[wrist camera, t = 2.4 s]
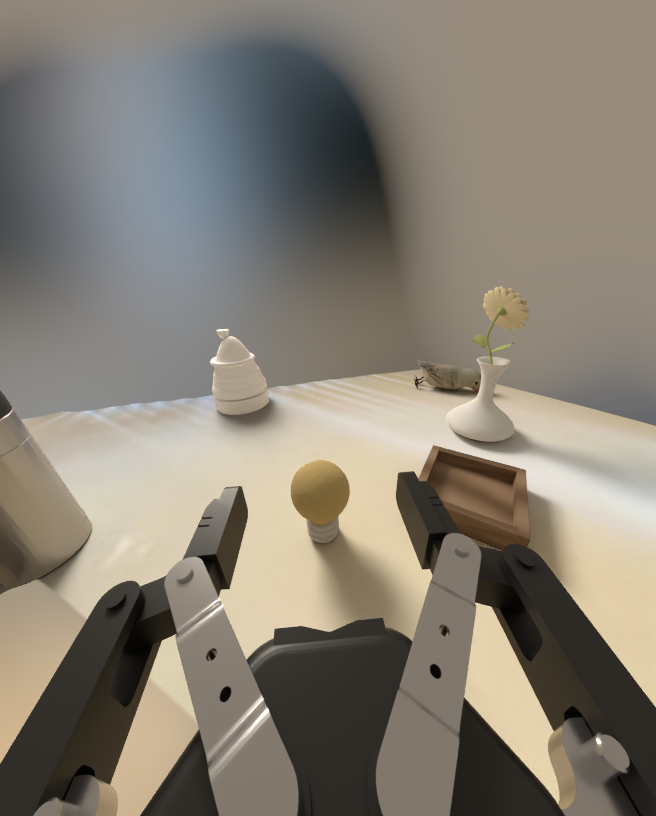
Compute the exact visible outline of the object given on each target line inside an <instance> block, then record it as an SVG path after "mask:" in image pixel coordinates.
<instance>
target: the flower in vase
mask: <svg viewBox="0 0 656 816" xmlns="http://www.w3.org/2000/svg"><path fill="white" fill-rule="evenodd" d="M526 304H527V301H526V300H524V299H521V295H520V294H518V293H517V294H514V290H513V289H512V288H509V289H508V290H507V291H506V290H505V289H504V287H502V286H500V287H499V288H497V287H496V288H495V289H494V291H493V290H491V291H488V294H485V299H484V304H483V307H484V309H486V314H487V315H489V319H490V320H492V321H493V322H492V324H491V326H490V328H489V330H488V332H487V336H486V339H485V338H484V337H482V336H481V335H479V334H478V335H477V336H476V337H475V338H474V339H473V342H475V343H477V344H479V345H480V346H482V347H483V348H485V347H486V345H487V348H488V352H489V357H480V358H478V359H477V361H478V363H479V365H480V367H481V384H480V389H479V392H478V395H477V397H476V398H475V399H474V400H472V401H470V402H467V403H465V404H462V405H460V406H457V407H455V408H454V409H452V410H450V411H449V413H448V414H447V415H446V422H447V424H448V426H449V427H450V428H451V429H452V430H453V431H455V432H456V433H458V434H460V435H462V436H464V437H467V438H470V439H474V440H479V441H486V442H496V441H502V440H505V439H507V438H509V437H510V436H512V435H513V434H514V425H513V423H512V421H511V420H510V419H509V417H508V416H507V415H506V414H505V413H504V412H503V411H501V410H500V409H499V408H498V407H497V406H496V405H495V404H494V402H493V393H494V389H495V386H496V383H497V381H498V378H499V377H500V375H501V373H502V372H503V371H504V369H505V368H507V367H508V366H509V365H511V363H512V362H511V361H510V360H508V359H504V358H500V357H492V354H491V352H495V351H499V350H502V349H505V348H507V347H509V346H510V345H512V344H514V342H513V343H512V344H510V345H505V346H501V347H498V348H496V349H494V350H493V351H490V347H489V342H488V336H489V333H490V331H491V329H492V327H493V325H494V323H495V324H496V325H498V324H500V326H501V327H502V328H506V329H508V330H512V328H513V329H518V327H520V328H521V327H524V326H525V325H524V323H523V322H526V320H527V318H528V312H529V309H528V308H526V307H525V305H526Z"/></svg>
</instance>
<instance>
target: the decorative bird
mask: <svg viewBox="0 0 656 816" xmlns="http://www.w3.org/2000/svg"><path fill="white" fill-rule="evenodd" d="M417 361H418V362H417V363H418V365H419V366H422V367H421V370H422V373H423V377H422V378H425V379H423V380H422V381H421V382H419V383H418V380H421V379H422V378H421V379H417V377H416V376H415V377H416V380H415V379H414V380H415V385H416V387H417V388H418V386H417V385H418V384H420V383H422V382H423V381H427V382H428V384H430V385H433V386H436V387H440V388H444V389H460V388H463V387H469V388H472V389H473V390H475V391H476V392H479V389H480V384H481V375H480V373H479V372H478V371H476V370H473V369H469V368H460V367H456V366H451V365H442V364H435V363H431V362H427V361H426V362H425V361H420V360H417ZM420 364H421V365H420ZM416 382H417V383H416Z"/></svg>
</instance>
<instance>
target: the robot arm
mask: <svg viewBox="0 0 656 816" xmlns="http://www.w3.org/2000/svg"><path fill="white" fill-rule="evenodd" d="M396 500H397V505H398V508H399V511H400V513H401V516H402V518H403V521H404V524H405V526H406V529H407V531H408V534H409V537H410V539H411V542H412V544H413V547H414V550H415V552H416V555H417V557H418V560H419V562H420V565H421V568H422V569H430V570H431V572H432V575H433V577H432V580H431V582H430V585H429V588H428V591H427V595H426V598H425V602H424V605H423V608H422V612H421V615H420V619H419V622H418V625H417V629H416V632H415V636H414V639H413V641H411V640H410V639H409V638H408V637H406V636H405V635H403V634H402V633H400V632H398V631H396V630H393V629H391V628H387V627H385V625H384V621H383V618H377V619H367V620H357V621H355V622H352V623H350V624H348V625H345V626H343V627H341V628H339V629H336V630H334V631H332V632H326V631H321V630H317V629H312V628H308V627H303V626H298V627H288V628H278V629H275V632H274V639H271V640H269V641H268V642H266V643H264V644H263V645H262V646H260V647H259V648H258V649H256V650H255V651H254V652H253V653H252V654H251V655H250V656H249V658H248V659H247V660H246V658H245V656H244V654H243V651H242V649H241V647H240V645H239V642H238V640H237V638H236V635H235V633H234V631H233V629H232V626H231V624H230V622H229V620H228V617H227V615H226V613H225V610H224V608H223V606H222V604H221V601H220V599H219V594H220V591H221V590H222V589H230V585H231V581H232V577H233V573H234V569H235V565H236V562H237V558H238V554H239V550H240V546H241V542H242V538H243V534H244V531H245V527H246V523H247V518H248V509H247V504H246V501H245V497H244V493H243V490H242V487H241V486H237V487H226V488H224V490H223V492H222V495H221V497H220V499H214V500H213V501H212V502H211V503H210V504H209V505H208V506H207V507H206V509H205V511H204V513H203V516H202V519H201V520H200V522H199V524H198V528H197V529H196V531H195V533H194V536H193V538H192V540H191V542H190V544H189V547H188V549H187V551H186V553H185V555H184V558H183V560H181V561H180V562H178V563H177V564H176V565H174V566H173V567H172V569H171V570H170V571H169V572H168V574H167V575H166V576H165V577H163V578H160V579H158V580H156V581H153V582H151V583H148V584H145V585H143V586H139V584H138V583H137V582H135V581H126V582H123V583H120V584H118V585H116V586H114V587H113V588H111V589H110V590H109V591H108V592H106V593H105V594H104V595H103V596H102V597H101V599H100V600H99V601H98V603H97V604H96V606H95V607H94V609H93V611H92V612H91V614H90V616H89V617H88V619H87V621H86V622H85V624H84V626H83V628H82V629H81V631H80V632H79V634H78V636H77V637H76V639H75V641H74V642H73V644H72V646H71V647H70V649H69V651H68V652H67V654H66V656H65V657H64V659H63V661H62V662H61V664H60V666H59V667H58V669H57V671H56V672H55V674H54V676H53V677H52V679H51V681H50V682H49V684H48V686H47V687H46V689H45V691H44V692H43V694H42V696H41V697H40V699H39V701H38V702H37V704H36V706H35V707H34V709H33V711H32V712H31V714H30V716H29V717H28V719H27V721H26V722H25V724H24V726H23V727H22V729H21V731H20V732H19V734H18V736H17V737H16V739H15V741H14V742H13V744H12V745H11V747H10V749H9V751H8V752H7V754H6V756H5V757H4V759H3V761H2V762H1V764H0V816H116V815H117V807H118V799H117V794H116V791H115V789H114V788H113V787H112V786H111V785H110V783H111V780H112V777H113V775H114V772H115V769H116V766H117V763H118V761H119V758H120V755H121V752H122V750H123V747H124V744H125V741H126V739H127V736H128V733H129V730H130V727H131V725H132V722H133V719H134V716H135V714H136V711H137V708H138V705H139V703H140V700H141V697H142V694H143V691H144V689H145V686H146V683H147V680H148V678H149V675H150V672H151V669H152V666H153V664H154V661H155V658H156V655H157V653H158V650H159V647H160V644H161V641H162V640H164V639H166V638H168V637H171V636H173V635H175V634H177V635H176V643H177V647H178V650H179V654H180V658H181V662H182V666H183V669H184V673H185V677H186V681H187V685H188V688H189V692H190V696H191V700H192V704H193V707H194V711H195V715H196V719H197V723H198V726H199V730H198V731H197V733H196V735H195V736H194V737H193V739H192V740H191V742H190V743H189V744H188V746H187V747H186V749H185V750H184V752H183V754H182V755H181V756H180V758H179V759H178V761H177V762H176V764H175V765H174V767H173V768H172V770H171V771H170V772H169V774H168V776H167V777H166V778H165V780H164V781H163V783H162V784H161V786H160V787H159V789H158V790H157V792H156V793H155V795H154V796H153V798H152V799H151V800H150V802H149V803H148V805H147V806H146V808H145V809H144V811H143V812H142V814H141V815H140V816H656V707H655V706H654V705H653V703H652V702H651V701H650V699H649V698H648V697H647V696H646V694H645V693H644V692H643V690H642V689H641V688H640V686H639V685H638V684H637V682H636V681H635V680H634V678H633V677H632V676H631V674H630V673H629V672H628V671H627V669H626V668H625V667H624V665H623V664H622V663H621V661H620V660H619V659H618V657H617V656H616V655H615V653H614V652H613V651H612V650H611V648H610V647H609V646H608V644H607V643H606V642H605V640H604V639H603V638H602V636H601V635H600V634H599V632H598V631H597V630H596V629H595V627H594V626H593V625H592V623H591V622H590V621H589V619H588V618H587V617H586V615H585V614H584V613H583V611H582V610H581V609H580V608H579V606H578V605H577V604H576V602H575V601H574V600H573V598H572V597H571V596H570V594H569V593H568V592H567V590H566V589H565V588H564V587H563V585H562V584H561V583H560V581H559V580H558V579H557V577H556V576H555V575H554V573H553V572H552V571H551V569H550V568H549V567H548V566H547V564H546V563H545V562H544V560H543V559H542V558H541V557H540V556H539V555H538V554H537V553H535V552H534V551H533V550H531V549H529V548H527V547H525V546H522V545H518V544H510V545H508V546H506V547H505V548H504V551H503V552H502V551H497V550H493V549H488V548H483V547H480V546H478V545H477V544H476V543H475V542H474V541H473V540H472V539H470V538H469V537H467V536H465V535H463V534H461V533H460V531H459V529H458V528H457V526H456V524H455V523H454V521H453V519H452V518H451V516H450V514H449V513H448V511H447V509H446V507H445V506H444V505H443V502H442V501H441V499H440V498H439V496H438V494H437V492H436V491H435V489H434V488H433V487H432V486H431V485H430V484H429V483H427V482H426V481H419V479H418V478H417V476H416V474H415V472H413V471H412V472H400V473H398V480H397V490H396ZM91 529H92V524H91V522H90V520H89V519H88V517H87V516H86V514H85V512H84V511H83V509H82V508H81V507H80V506H79V504H78V503H77V501H76V500H75V498H74V497H73V495H72V494H71V492H70V491H69V489H68V488H67V487H66V485H65V484H64V482H63V481H62V479H61V478H60V476H59V475H58V473H57V472H56V470H55V469H54V467H53V466H52V465H51V463H50V462H49V460H48V459H47V457H46V456H45V454H44V453H43V451H42V450H41V448H40V447H39V446H38V444H37V443H36V441H35V440H34V438H33V437H32V435H31V434H30V433H29V431H28V429H27V428H26V426H25V425H24V424H23V422H22V421H21V419H20V418H19V417H18V415H17V413H16V412H15V410H14V409H13V408H12V406H11V405H10V403H9V402H8V400H7V399H6V397H5V396H4V395H3V393H2V392H1V391H0V594H1V593H3V592H5V591H7V590H9V589H11V588H15V587H18V586H21V585H24V584H27V583H29V582H31V581H33V580H36V579H38V578H40V577H42V576H43V575H45V574H47V573H49V572H50V571H52V570H53V569H55V568H57V567H58V566H60V565H61V564H62V563H64V562H65V561H66V560H67V559H69V558H70V557H71V556H72V555H73V554H74V553H75V552H76V551H78V550H79V549H80V547H81V546H82V545H83V544H84V543H85V541H86V540H87V538H88V537H89V535H90V532H91ZM475 602H476V603H480V604H483V605H487V606H491V607H492V608H493V610H494V612H495V614H496V616H497V618H498V620H499V622H500V624H501V626H502V628H503V630H504V632H505V634H506V636H507V638H508V640H509V642H510V644H511V646H512V648H513V650H514V652H515V654H516V656H517V658H518V660H519V662H520V664H521V666H522V668H523V670H524V672H525V674H526V676H527V678H528V680H529V682H530V684H531V686H532V688H533V690H534V692H535V694H536V696H537V698H538V700H539V702H540V704H541V706H542V708H543V710H544V712H545V714H546V716H547V718H548V720H549V722H550V725H551V727H552V729H553V731H554V732H553V733H552V734H551V736H550V738H549V742H548V752H549V757H550V761H551V764H552V766H553V769H554V772H555V775H556V778H557V781H558V786H559V795H560V800H559V805H558V804H557V802H556V801H555V799H554V798H553V797H552V795H551V794H550V793H549V791H548V790H547V789H546V788H545V786H544V785H543V784H542V783H541V782H540V780H539V779H538V778H537V777H536V776H535V775H534V774H533V773H532V772H531V771H530V769H529V768H528V767H527V766H526V765H525V764H524V763H523V762H522V761H521V760H520V758H519V757H518V756H517V755H516V754H515V753H514V752H513V751H512V750H511V748H510V747H509V746H508V745H507V744H506V743H505V742H504V741H503V740H502V739H501V737H500V736H499V735H498V734H497V733H496V732H495V731H494V730H493V729H492V728H491V726H490V725H489V724H488V723H487V722H486V721H485V720H484V719H483V718H482V717H481V715H480V714H479V713H478V712H477V711H476V710H475V709H474V708H473V707H472V706H471V704H470V703H469V702H468V701H467V700H466V699H465V698H464V693H465V686H466V678H467V671H468V664H469V657H470V649H471V642H472V635H473V628H474V620H475V613H476V605H475Z"/></svg>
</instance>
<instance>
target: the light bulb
mask: <svg viewBox="0 0 656 816" xmlns="http://www.w3.org/2000/svg"><path fill="white" fill-rule="evenodd" d="M349 493H350V491H349V483H348V480H347V478H346V476H345V474H344V473H343V471H342V470H341V469H340V468H339V467H338V466H336V465H335V464H333V463H331V462H329V461H325V460H318V461H314V462H311V463H308V464H306V465H304V466H303V467H302V468H300V469H299V470H298V471H297V472H296V474H295V475H294V477H293V480H292V484H291V498H292V501H293V504H294V506H295V508H296V510H297V511H298V512H299V513H300V514H301V515H302V516H303V517H304V518H306V519H307V526H308V533H309V536H310V537H311V539H313V540H314V541H316V542H318V543H327V542H330V541H332V540H333V539H334V538H335V537H336V536H337V534H338V531H339V520H338V515H339V514H340V513H341V512H342V511H343V510H344V508H345V506H346V505H347V502H348V499H349Z"/></svg>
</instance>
